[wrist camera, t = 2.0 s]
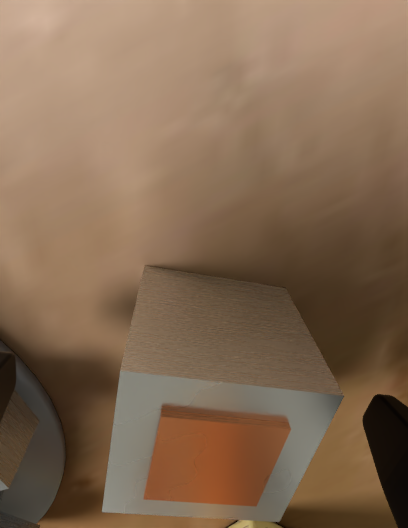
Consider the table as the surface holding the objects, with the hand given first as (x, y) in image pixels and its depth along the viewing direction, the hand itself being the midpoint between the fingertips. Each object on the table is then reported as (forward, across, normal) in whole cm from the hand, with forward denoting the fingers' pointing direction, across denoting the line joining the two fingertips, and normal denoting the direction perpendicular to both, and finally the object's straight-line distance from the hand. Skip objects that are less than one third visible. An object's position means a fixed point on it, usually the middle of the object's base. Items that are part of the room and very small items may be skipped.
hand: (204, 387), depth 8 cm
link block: (+2, 0, 0) cm, 2 cm away
